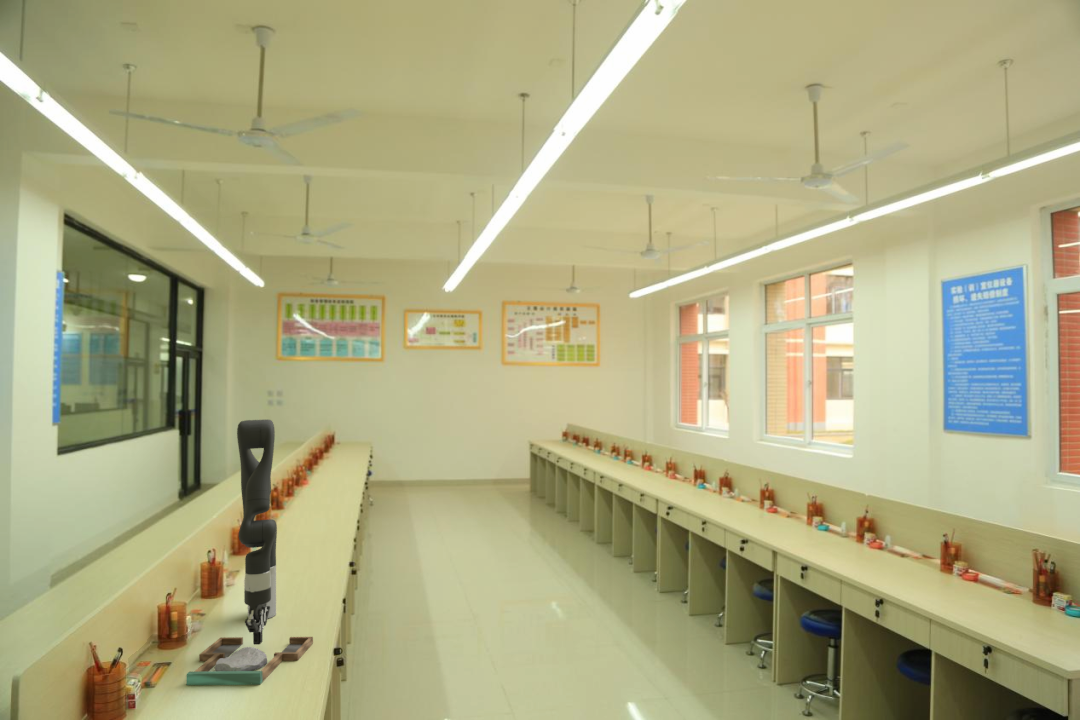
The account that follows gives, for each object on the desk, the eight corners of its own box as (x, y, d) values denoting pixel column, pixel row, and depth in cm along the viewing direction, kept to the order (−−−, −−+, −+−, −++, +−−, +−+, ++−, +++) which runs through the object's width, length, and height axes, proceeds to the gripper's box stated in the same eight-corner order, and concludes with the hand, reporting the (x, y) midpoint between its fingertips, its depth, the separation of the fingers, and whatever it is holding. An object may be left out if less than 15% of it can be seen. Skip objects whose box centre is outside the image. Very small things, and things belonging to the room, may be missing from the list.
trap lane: (220, 643, 211) (220, 634, 211) (312, 643, 211) (312, 633, 211) (169, 685, 183) (169, 674, 183) (276, 684, 183) (276, 673, 183)
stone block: (270, 669, 197) (247, 656, 201) (272, 654, 196) (249, 641, 201) (235, 688, 186) (211, 673, 191) (237, 671, 186) (213, 657, 190)
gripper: (255, 579, 212) (255, 635, 212) (235, 593, 199) (235, 652, 199) (278, 579, 212) (278, 635, 212) (260, 593, 199) (260, 652, 199)
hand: (257, 643), depth 205 cm, fingers closed
